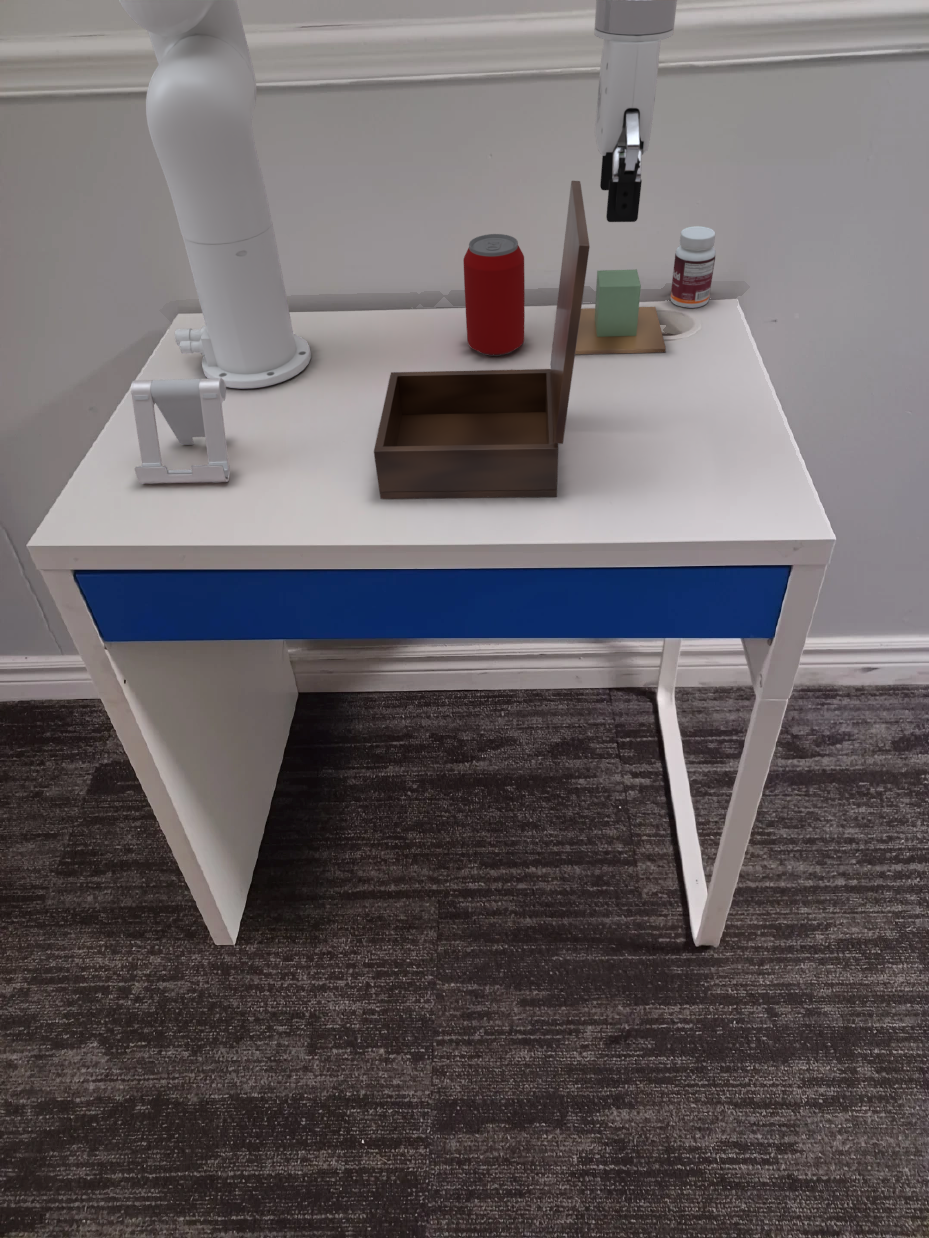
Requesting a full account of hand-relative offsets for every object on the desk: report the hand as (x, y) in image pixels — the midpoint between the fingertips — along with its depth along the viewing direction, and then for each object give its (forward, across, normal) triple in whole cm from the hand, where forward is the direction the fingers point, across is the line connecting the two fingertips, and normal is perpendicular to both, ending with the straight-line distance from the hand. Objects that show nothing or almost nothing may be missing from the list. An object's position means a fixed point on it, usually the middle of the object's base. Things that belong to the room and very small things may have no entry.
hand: (617, 204), depth 96 cm
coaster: (+15, 0, +1) cm, 15 cm away
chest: (+15, +26, -15) cm, 34 cm away
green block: (+14, 0, +1) cm, 14 cm away
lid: (0, +26, -7) cm, 27 cm away
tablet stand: (+16, +27, -43) cm, 53 cm away
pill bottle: (+14, -8, +11) cm, 20 cm away
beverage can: (+15, +3, -13) cm, 20 cm away
